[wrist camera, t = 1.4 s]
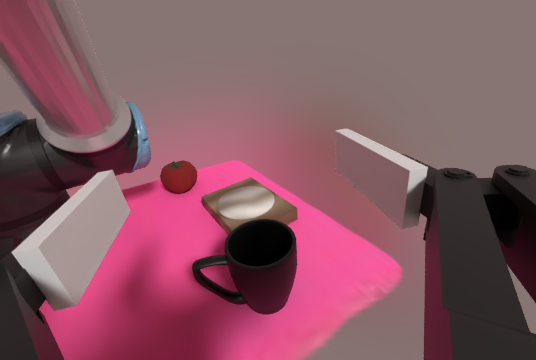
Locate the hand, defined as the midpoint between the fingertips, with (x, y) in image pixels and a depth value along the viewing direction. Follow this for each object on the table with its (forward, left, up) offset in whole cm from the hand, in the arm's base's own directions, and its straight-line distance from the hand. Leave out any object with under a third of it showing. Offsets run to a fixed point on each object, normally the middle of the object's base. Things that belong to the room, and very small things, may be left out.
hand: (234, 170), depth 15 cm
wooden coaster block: (-14, +24, -23) cm, 35 cm away
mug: (-5, +7, -23) cm, 24 cm away
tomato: (-34, +29, -23) cm, 50 cm away
